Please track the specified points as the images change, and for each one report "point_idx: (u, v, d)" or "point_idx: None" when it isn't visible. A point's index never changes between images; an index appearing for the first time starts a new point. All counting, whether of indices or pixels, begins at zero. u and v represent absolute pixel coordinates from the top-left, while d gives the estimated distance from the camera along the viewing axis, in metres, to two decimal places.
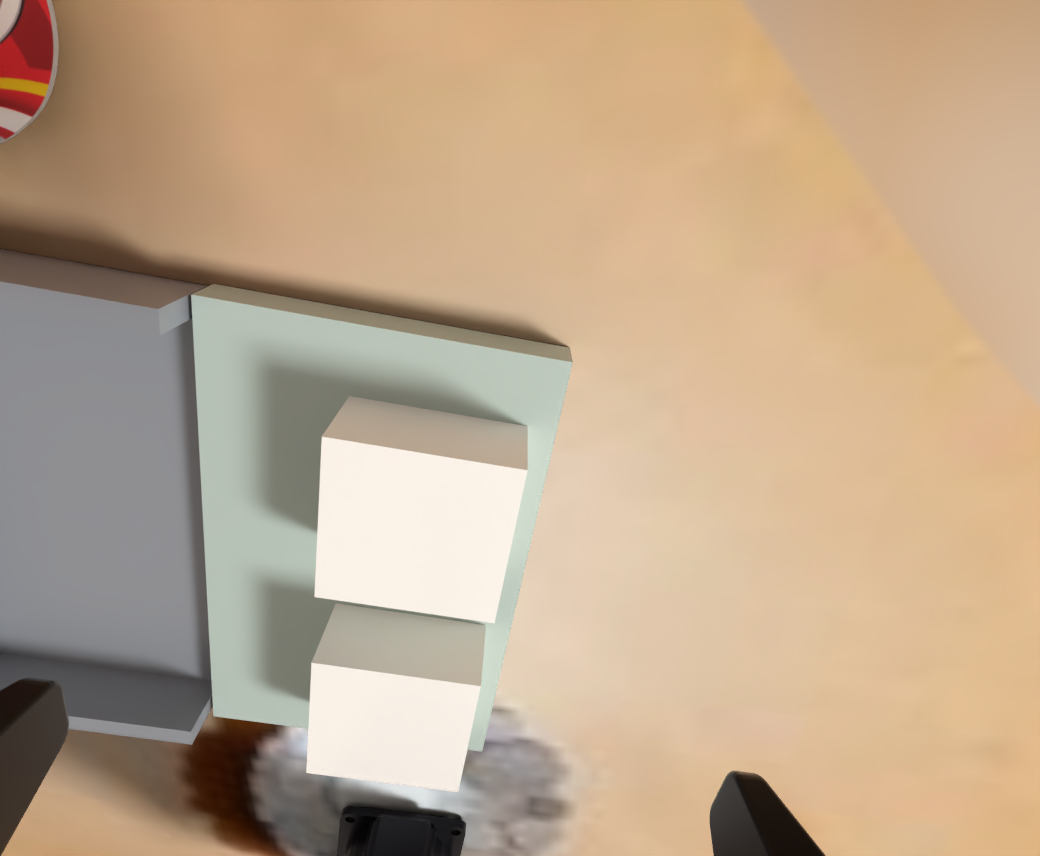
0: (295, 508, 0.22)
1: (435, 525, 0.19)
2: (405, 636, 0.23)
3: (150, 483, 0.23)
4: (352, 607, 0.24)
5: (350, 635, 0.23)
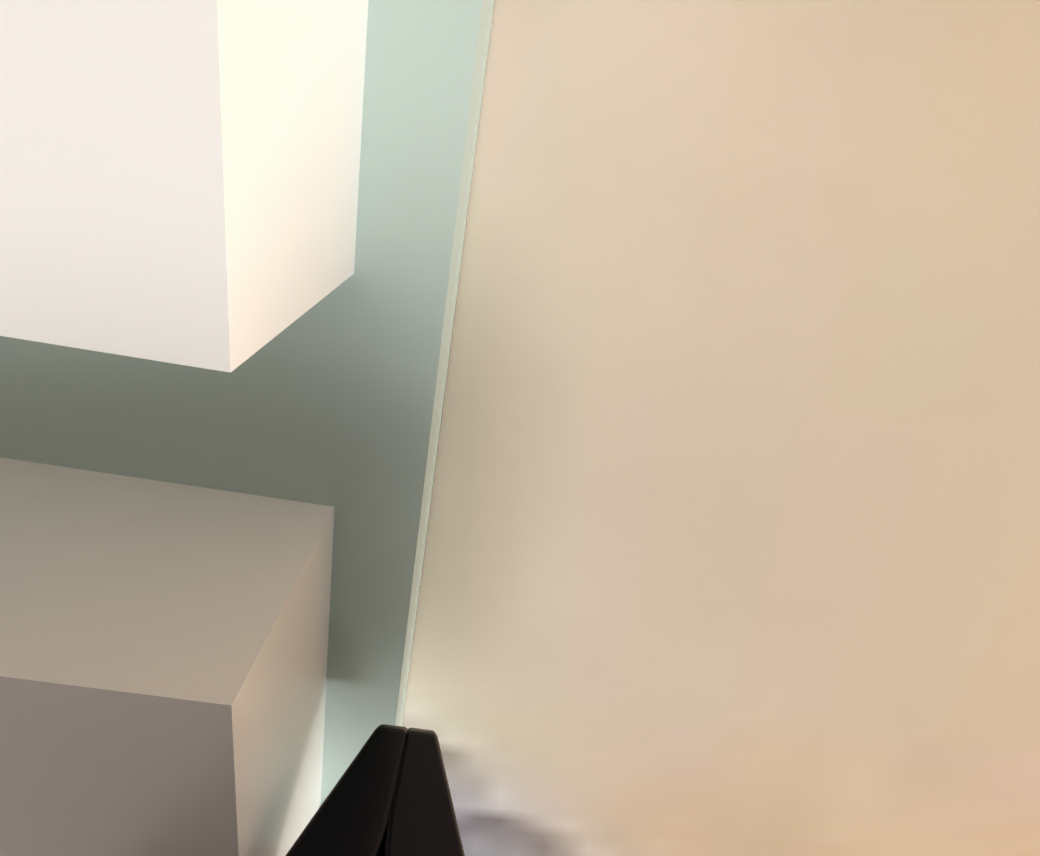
0: None
1: None
2: (17, 527, 0.06)
3: None
4: None
5: None
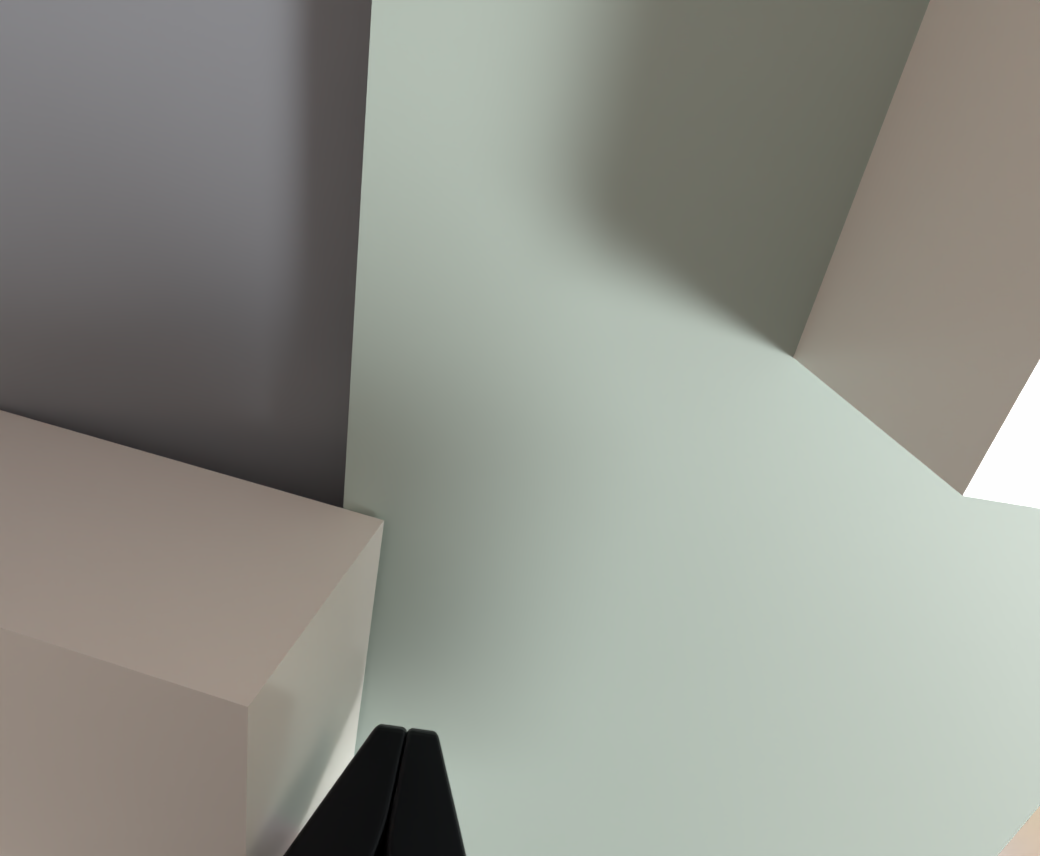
0: (683, 223, 0.06)
1: None
2: (98, 504, 0.07)
3: (176, 180, 0.07)
4: (9, 416, 0.08)
5: None
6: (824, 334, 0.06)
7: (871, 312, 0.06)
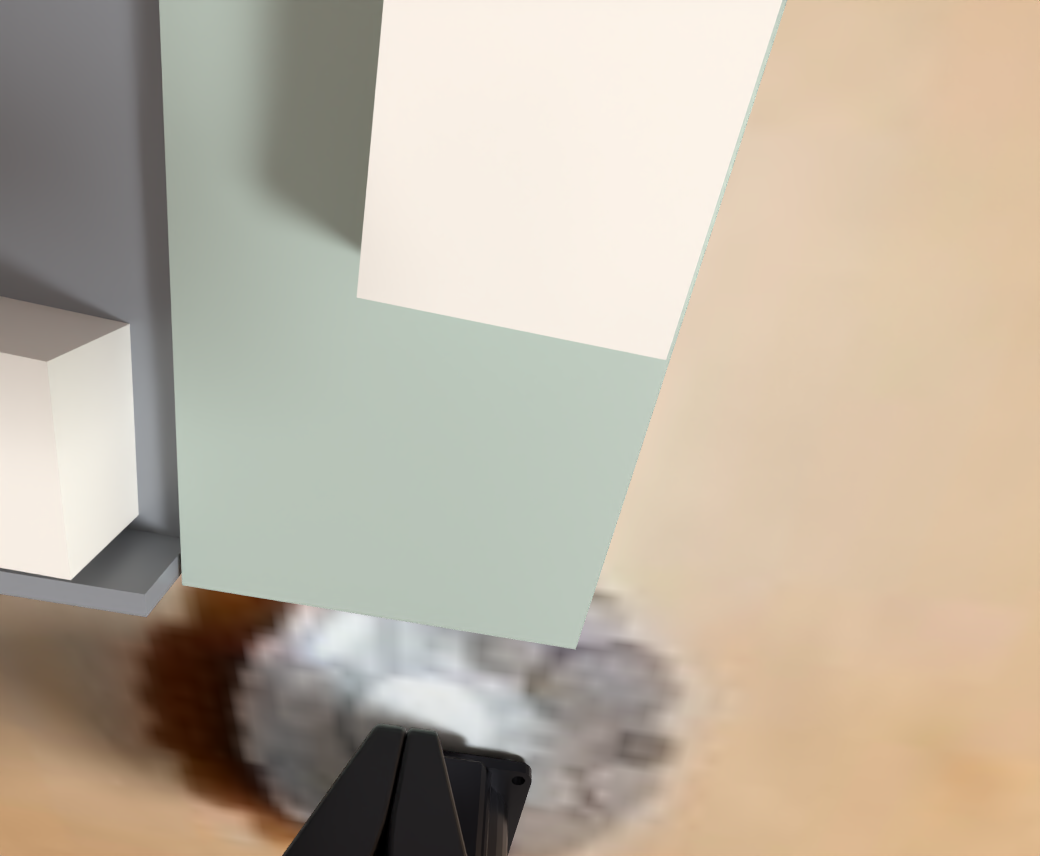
0: (320, 197, 0.13)
1: (590, 133, 0.10)
2: None
3: (84, 169, 0.14)
4: None
5: None
6: None
7: None
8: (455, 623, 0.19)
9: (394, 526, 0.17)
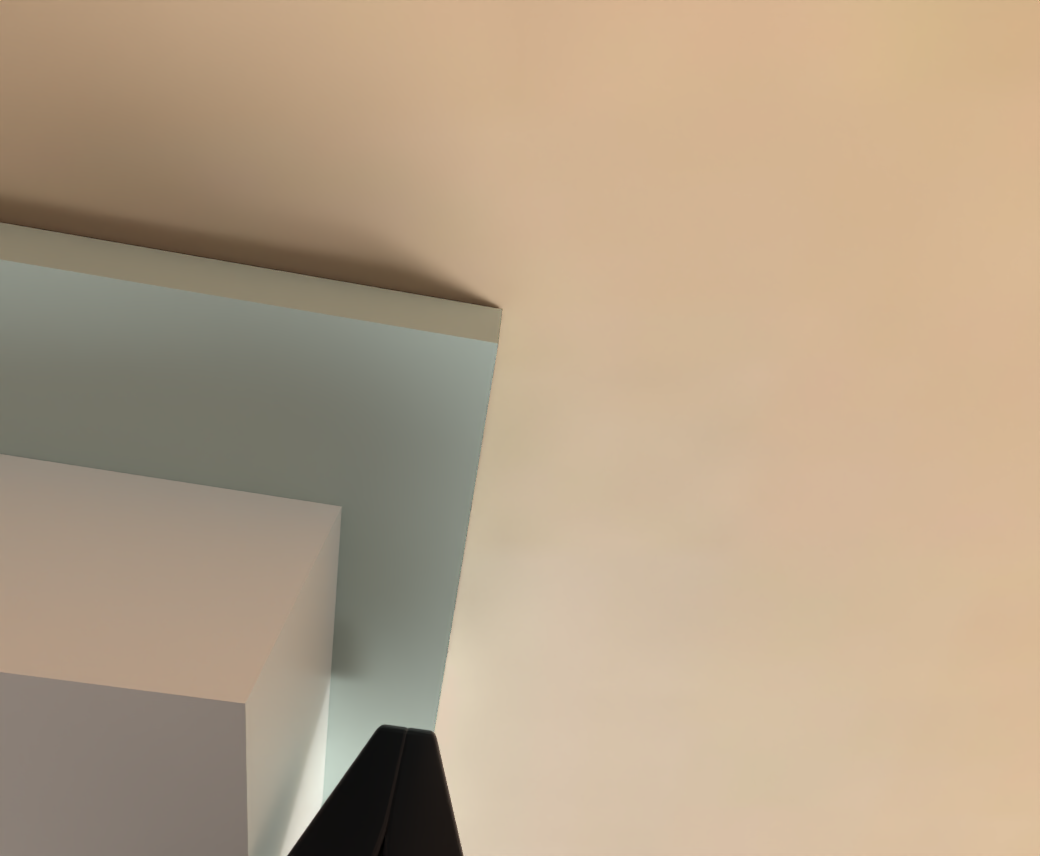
0: None
1: None
2: None
3: None
4: None
5: None
6: None
7: None
8: None
9: None
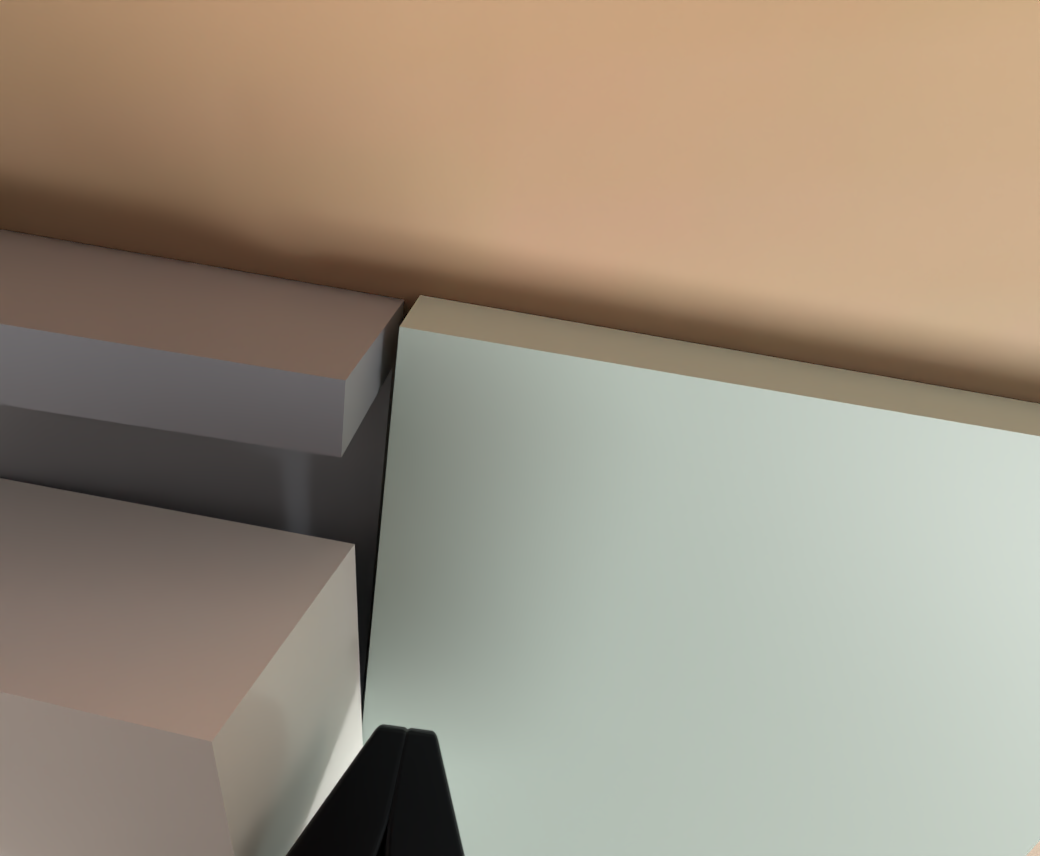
0: (560, 781, 0.10)
1: (40, 843, 0.07)
2: None
3: None
4: None
5: None
6: None
7: None
8: None
9: None
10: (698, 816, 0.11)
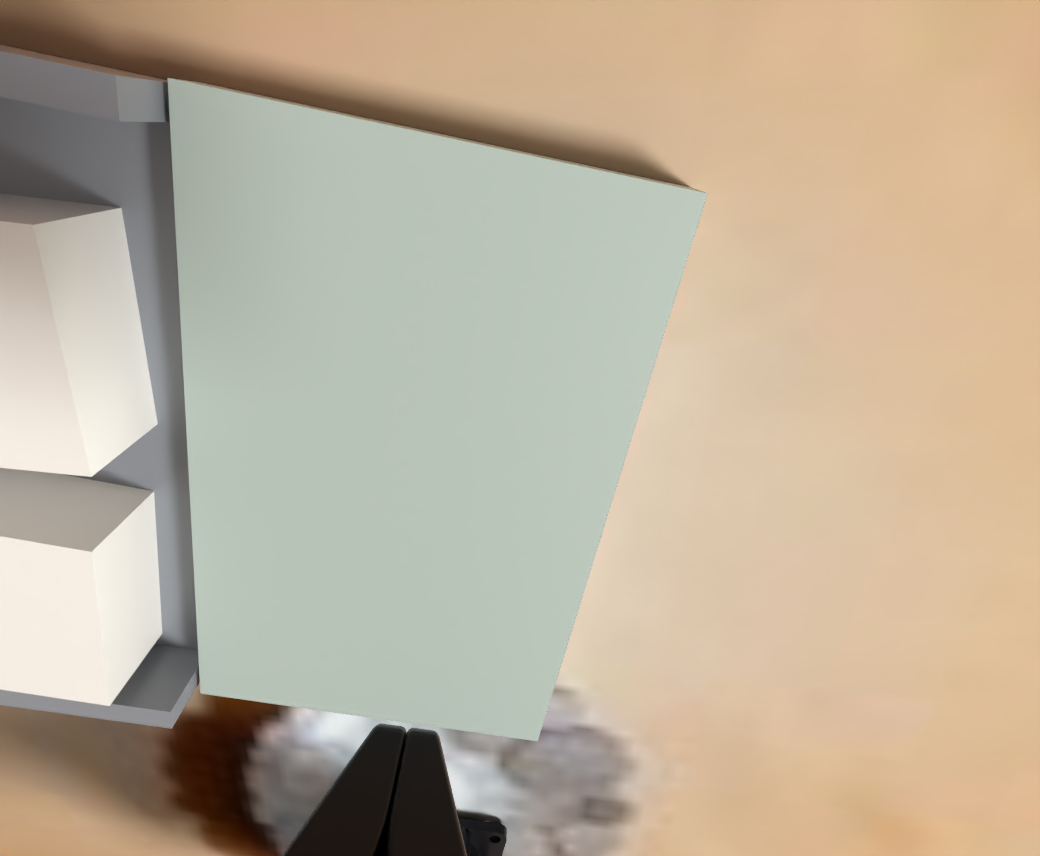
0: (310, 411, 0.16)
1: None
2: (23, 493, 0.17)
3: None
4: None
5: None
6: None
7: None
8: (434, 722, 0.22)
9: (379, 648, 0.20)
10: (402, 443, 0.17)
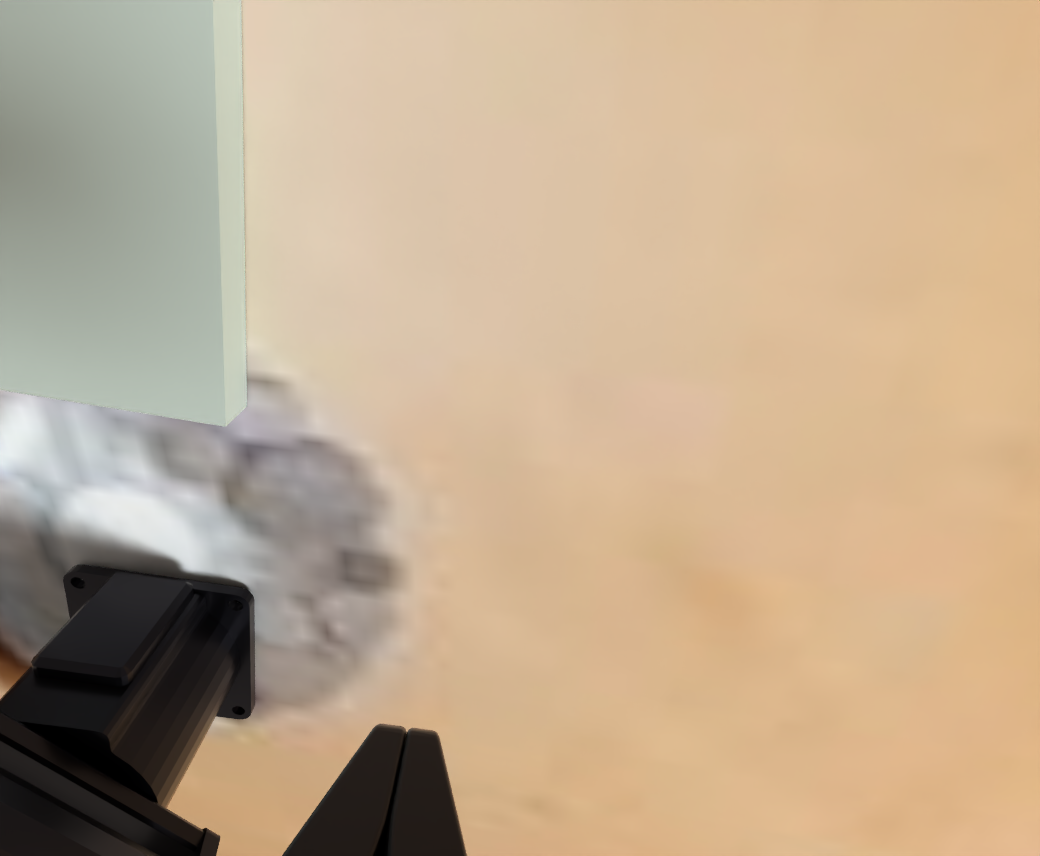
0: None
1: None
2: None
3: None
4: None
5: None
6: None
7: None
8: (90, 397, 0.18)
9: None
10: None
